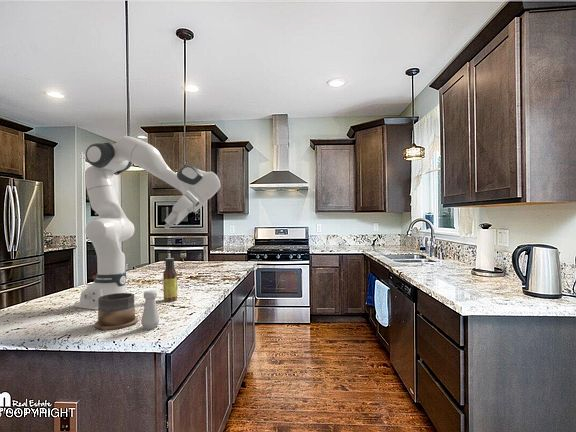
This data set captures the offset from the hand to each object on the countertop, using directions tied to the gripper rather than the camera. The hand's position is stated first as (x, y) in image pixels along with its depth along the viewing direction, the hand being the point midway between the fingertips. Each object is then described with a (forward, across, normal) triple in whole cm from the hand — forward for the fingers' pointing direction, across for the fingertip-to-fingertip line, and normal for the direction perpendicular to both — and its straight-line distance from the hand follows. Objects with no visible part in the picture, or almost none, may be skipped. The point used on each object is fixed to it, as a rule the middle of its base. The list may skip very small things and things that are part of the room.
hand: (165, 224), depth 132 cm
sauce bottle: (+18, -34, +22) cm, 45 cm away
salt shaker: (+31, +5, +24) cm, 39 cm away
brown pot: (+37, -5, +14) cm, 40 cm away
